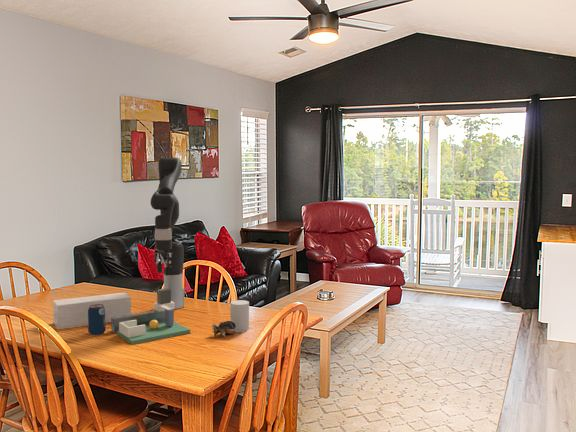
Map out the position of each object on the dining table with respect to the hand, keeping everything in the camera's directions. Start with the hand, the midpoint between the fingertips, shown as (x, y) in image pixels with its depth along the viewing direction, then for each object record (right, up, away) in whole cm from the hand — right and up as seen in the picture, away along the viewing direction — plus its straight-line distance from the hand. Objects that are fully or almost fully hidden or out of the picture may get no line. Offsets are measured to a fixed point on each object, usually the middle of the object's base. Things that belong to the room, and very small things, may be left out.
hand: (163, 273), depth 249 cm
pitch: (-1, -24, -15) cm, 28 cm away
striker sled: (+3, -21, -2) cm, 21 cm away
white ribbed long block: (-33, -23, +4) cm, 40 cm away
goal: (-9, -23, -19) cm, 31 cm away
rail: (-8, -23, -4) cm, 25 cm away
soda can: (-25, -24, -15) cm, 38 cm away
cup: (+35, -24, -7) cm, 43 cm away
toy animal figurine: (+29, -25, -17) cm, 42 cm away
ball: (-1, -20, -13) cm, 24 cm away
